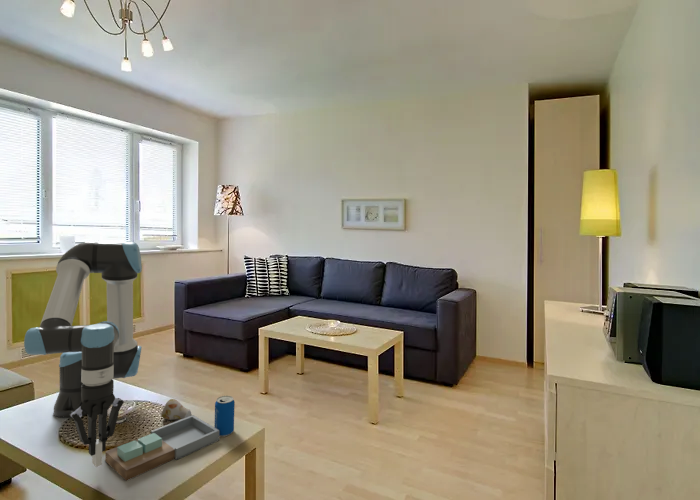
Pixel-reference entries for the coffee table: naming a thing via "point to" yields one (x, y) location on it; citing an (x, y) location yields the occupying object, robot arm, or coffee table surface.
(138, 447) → the tile near
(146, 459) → the walnut board
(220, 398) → the beverage can
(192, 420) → the tray
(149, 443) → the tile far
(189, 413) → the mug
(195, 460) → the coffee table surface
